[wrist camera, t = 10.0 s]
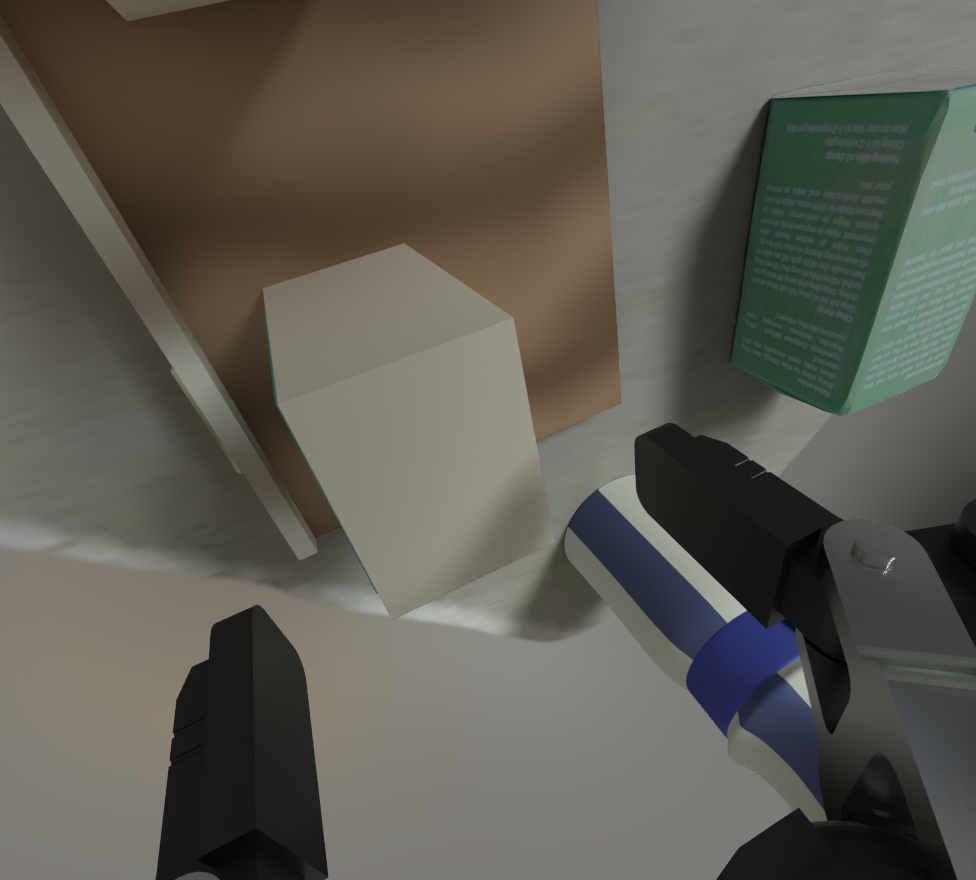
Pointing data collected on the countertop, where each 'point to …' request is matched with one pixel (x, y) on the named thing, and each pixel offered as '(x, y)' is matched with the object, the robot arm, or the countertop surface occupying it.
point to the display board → (328, 182)
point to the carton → (410, 420)
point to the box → (861, 238)
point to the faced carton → (154, 7)
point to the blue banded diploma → (703, 640)
